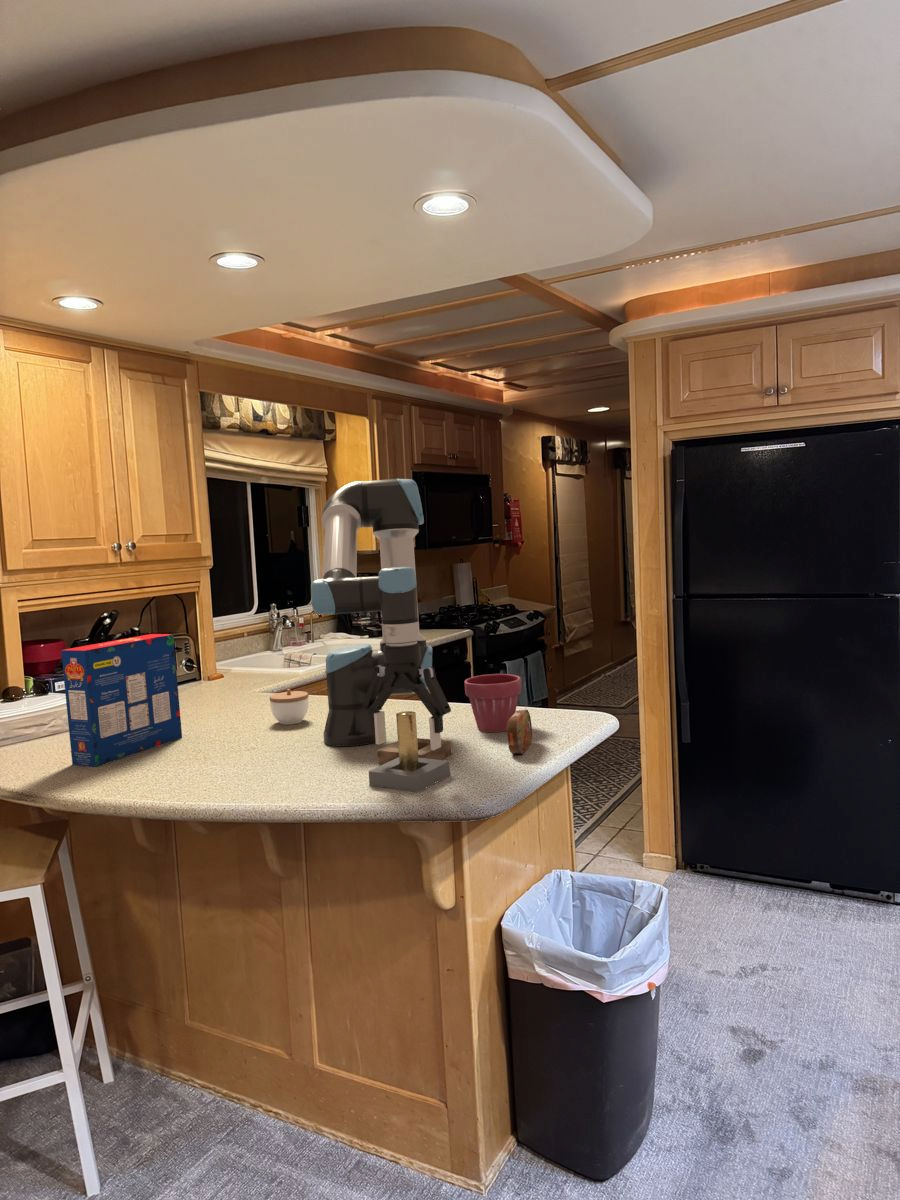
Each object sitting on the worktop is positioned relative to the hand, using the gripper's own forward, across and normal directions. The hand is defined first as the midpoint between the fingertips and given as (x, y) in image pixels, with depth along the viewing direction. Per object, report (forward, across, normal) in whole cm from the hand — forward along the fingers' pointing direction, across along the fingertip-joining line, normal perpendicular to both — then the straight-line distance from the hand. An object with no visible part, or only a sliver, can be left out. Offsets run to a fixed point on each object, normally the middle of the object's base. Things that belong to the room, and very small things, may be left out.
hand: (408, 745), depth 170 cm
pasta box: (+8, -83, -4) cm, 83 cm away
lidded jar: (+8, -63, +34) cm, 72 cm away
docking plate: (+7, 0, 0) cm, 7 cm away
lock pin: (+7, 0, 0) cm, 7 cm away
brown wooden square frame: (+7, -8, +14) cm, 18 cm away
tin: (+8, +11, +29) cm, 32 cm away
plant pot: (+8, -4, +45) cm, 46 cm away
